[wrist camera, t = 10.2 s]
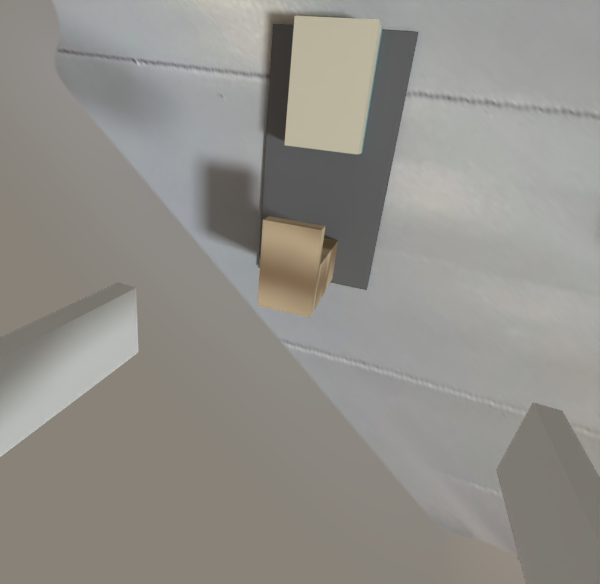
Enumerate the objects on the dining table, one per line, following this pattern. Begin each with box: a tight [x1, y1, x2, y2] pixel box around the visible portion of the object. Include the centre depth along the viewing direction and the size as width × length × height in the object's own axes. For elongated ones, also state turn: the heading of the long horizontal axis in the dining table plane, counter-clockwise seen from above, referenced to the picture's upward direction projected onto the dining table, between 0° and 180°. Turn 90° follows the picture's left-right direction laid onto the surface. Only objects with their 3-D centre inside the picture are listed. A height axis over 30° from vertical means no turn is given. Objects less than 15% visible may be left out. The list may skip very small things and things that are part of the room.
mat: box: [259, 24, 418, 290], centre depth 37 cm, size 24×13×1 cm, turn 174°
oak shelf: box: [258, 216, 338, 318], centre depth 36 cm, size 8×5×10 cm, turn 174°
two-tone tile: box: [284, 16, 382, 155], centre depth 33 cm, size 10×7×3 cm
